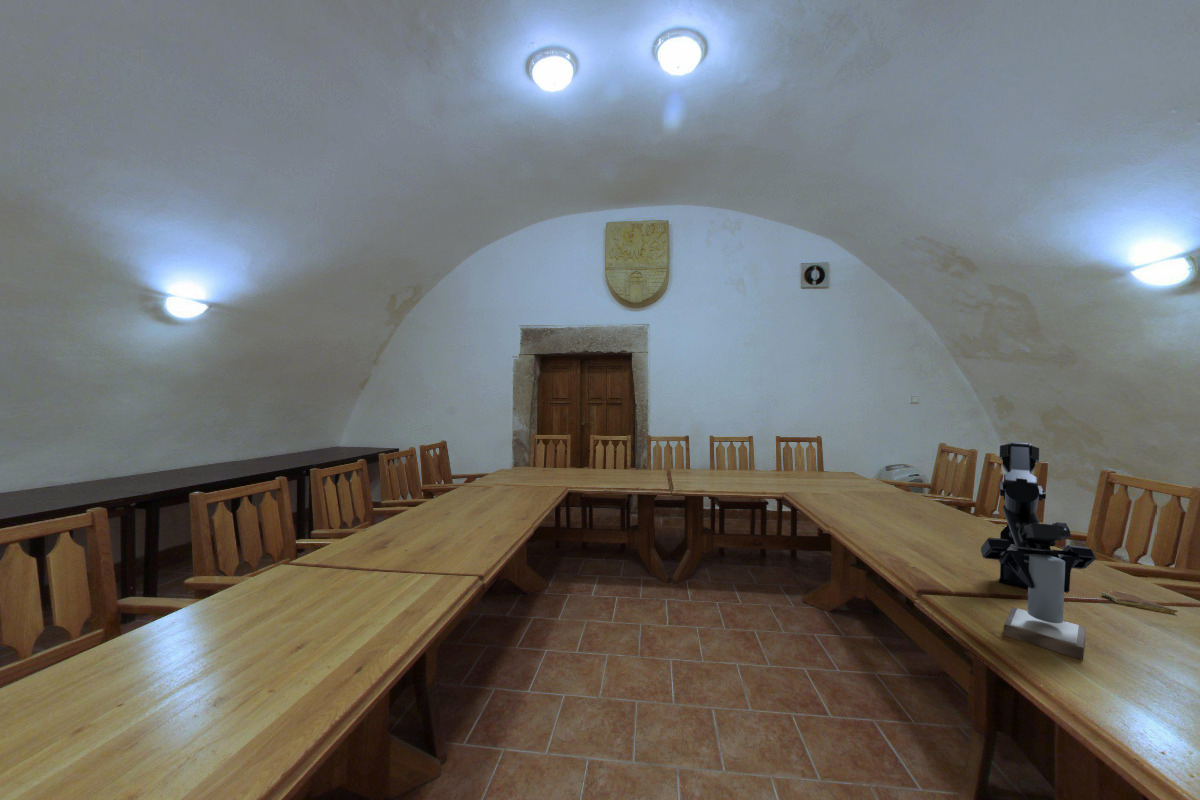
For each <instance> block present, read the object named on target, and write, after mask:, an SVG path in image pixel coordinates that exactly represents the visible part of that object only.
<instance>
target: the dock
mask: <svg viewBox="0 0 1200 800" xmlns="http://www.w3.org/2000/svg"><path fill="white" fill-rule="evenodd" d="M1003 636H1005V637H1008V638H1011V639H1015V640H1018V641H1021V642H1024V643H1027V644H1031V645H1034V646H1037V647H1040V648H1044V649H1045V650H1050V651H1053V652H1056V653H1059V654H1063V655H1065V654H1066V655H1067V656H1068V657H1072V658H1075V657H1076V659H1078V658H1079V659H1078V660H1081V659H1082V661H1083V660H1084V654H1085V642H1086V626H1083V625H1079V624H1075V623H1072V622H1069V621H1066V620H1065V621H1064V620H1063V622H1062V623H1050V622H1046V621H1042V620H1039V619H1037V618H1034V617H1032V616H1031V615H1029V614H1028V610H1025V609H1021V608H1018V607H1014V606H1011V608H1010V610H1009V613H1008V615H1007V617H1006V619H1005V621H1004V624H1003Z"/></svg>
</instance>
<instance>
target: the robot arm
mask: <svg viewBox="0 0 1200 800" xmlns="http://www.w3.org/2000/svg"><path fill="white" fill-rule="evenodd" d="M998 457H999V460H1000V461H1002V463H1001V464H1002V465H1001V466H1002V468H1003V469H1004V471H1005V472H1006V473H1004V475H1003V481H999V482H1000V483H999V496H1000V497H1003V501H1004V505H1003V507H1002V512H1003V515H1004V517H1005V519H1006V522H1007V525H1006V526H1005V527H1004V528H1003V529H1002V530H1001V531H1000V533H999V535H1000V538H999V537H988V538H986V540H985V542H984V543H983V544H982V545H981V547H980V553H981V556H982V558H983V559H986V560H987V559H988V560H995V561H996V560H998V563H1000V564H999V565H1000V566H999V579H998V582H999V583H1001V584H1002V583H1003V584H1006V585H1010V586H1013V587H1017V588H1018V587H1019V588H1022V589H1027V590H1028V587H1029V588H1033V587H1034V584H1033V581H1032V578H1031V576H1030V573H1029V555H1030V554H1043V555H1048V556H1053V557H1056V558H1059V559H1062V560H1064V561H1065V582H1064V594H1065V593H1066V594H1067V593H1070V590H1071V589H1070V586H1071V584H1070V583H1071V572H1072V569H1078V570H1083V569H1087V568H1088V567H1089V566H1090V565H1091V564H1092V563H1093V562H1095V560H1097V556H1096V554H1095V551H1094V550H1093V549H1092V548H1090V547H1088V546H1081V545H1080V546H1079V545H1071V544H1070V545H1069V544H1067V545H1066V546H1065V547H1064V548H1063V549H1062V550H1059V549H1051V547H1054V546H1055V545H1056V542H1057V541H1059V542H1060V541H1063V540H1062V539H1068V538H1070V537H1071V536H1072V533H1071V531H1070V528H1069V526H1068V524H1067V522H1059V521H1058V522H1057V521H1056V522H1055V523H1054V522H1052V523H1040V522H1041V521H1040V520H1039V518H1038V515H1037V513H1036V512H1037V510H1038V505H1039V501H1040V502H1042V501H1043V499H1047V494H1046V492H1045V490H1044V489H1043V486H1042V485H1038V484H1039V483H1038V478H1037V476H1035V475H1033V474H1032V473H1033V472H1034V470H1035V468H1036V464H1039V462H1040V447H1037V446H1034V445H1033V444H1030V443H1029V442H1015V441H1011V442H1008V443H1007V444H1001V445H999V456H998ZM1055 541H1056V542H1055Z"/></svg>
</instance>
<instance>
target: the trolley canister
mask: <svg viewBox="0 0 1200 800" xmlns="http://www.w3.org/2000/svg"><path fill="white" fill-rule="evenodd" d="M1029 573H1030V576H1031V578H1032V581H1033V584H1034V587H1033V588H1029V587H1028V589H1027V591H1028V592H1027V611H1028V614H1029V615H1031V616H1032V617H1034V618H1037V619H1039V620H1042V621H1046V622H1050V623H1062V622H1063V621H1064V610H1065V609H1064V607H1065V592H1064V582H1065V561H1064V560H1062V559H1059V558H1056V557H1053V556H1048V555H1043V554H1030V555H1029Z"/></svg>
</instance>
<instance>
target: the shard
mask: <svg viewBox="0 0 1200 800" xmlns="http://www.w3.org/2000/svg"><path fill="white" fill-rule="evenodd" d="M1100 594H1101V595H1102V596H1103V597H1105V596H1106V597H1105V598H1108V597H1109V598H1108V599H1110V598H1111V599H1112V600H1111V599H1110V600H1111V601H1113V602H1115V604H1118V605H1125V606H1131V607H1135V608H1141V609H1145V610H1150V611H1154V612H1159V613H1164V614H1165V613H1166V614H1170V615H1171V614H1172V615H1175V614H1176V613H1177V612H1179V611H1178V610H1177V609H1173V608H1171V607H1167V606H1164V605H1162V604H1158V603H1156V602H1154V601H1150V600H1148V599H1147V598H1143V597H1140V596H1137V595H1134V594H1131V593H1128V592H1125V591H1119V590H1102V591H1101V592H1100Z"/></svg>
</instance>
